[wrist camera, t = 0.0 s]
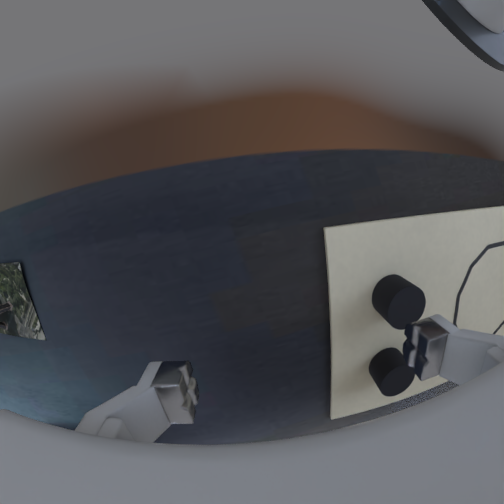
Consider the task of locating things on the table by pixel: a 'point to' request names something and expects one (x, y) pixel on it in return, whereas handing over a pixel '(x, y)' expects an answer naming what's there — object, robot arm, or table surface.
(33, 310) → the eiffel tower figurine
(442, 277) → the sheet
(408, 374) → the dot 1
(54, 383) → the table surface
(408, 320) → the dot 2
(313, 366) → the table surface
